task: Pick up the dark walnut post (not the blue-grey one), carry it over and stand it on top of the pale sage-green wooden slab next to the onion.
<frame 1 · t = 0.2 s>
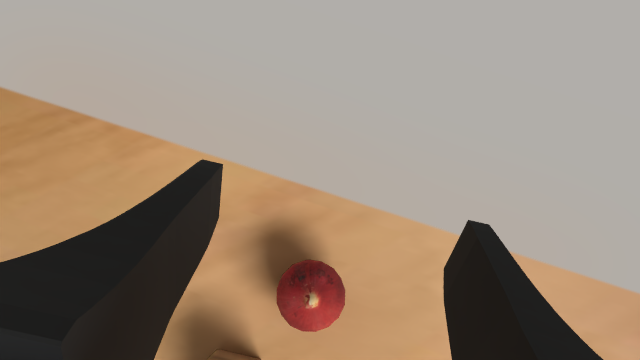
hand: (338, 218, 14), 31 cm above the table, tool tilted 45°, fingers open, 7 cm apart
onion: (310, 292, 43), on the table
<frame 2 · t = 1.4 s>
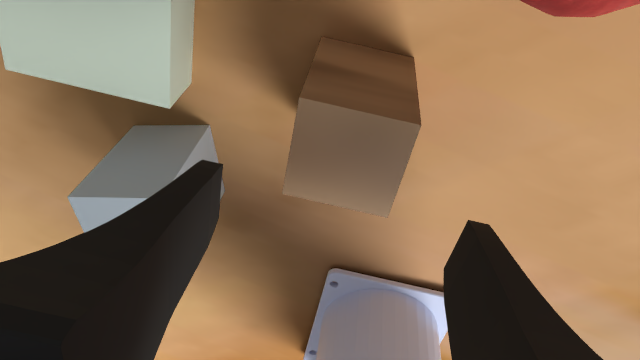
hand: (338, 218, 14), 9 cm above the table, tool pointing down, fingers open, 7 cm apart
walnut post: (357, 89, 21), on the table
bluegrey post: (181, 159, 24), on the table
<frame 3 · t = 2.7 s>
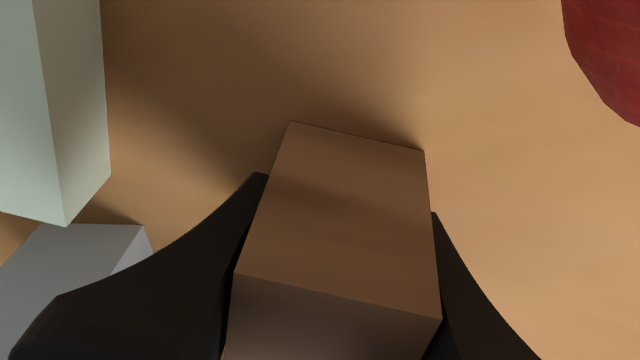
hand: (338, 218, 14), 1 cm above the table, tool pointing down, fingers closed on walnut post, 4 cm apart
walnut post: (342, 189, 15), on the table, touching gripper
bluegrey post: (110, 262, 18), on the table
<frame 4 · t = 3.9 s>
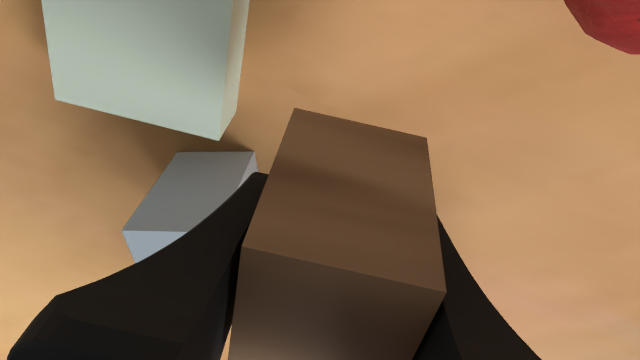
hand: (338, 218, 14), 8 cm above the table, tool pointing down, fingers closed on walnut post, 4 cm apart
sage slab: (166, 16, 20), on the table
walnut post: (346, 177, 15), point 7 cm above the table, touching gripper
bluegrey post: (223, 184, 24), on the table
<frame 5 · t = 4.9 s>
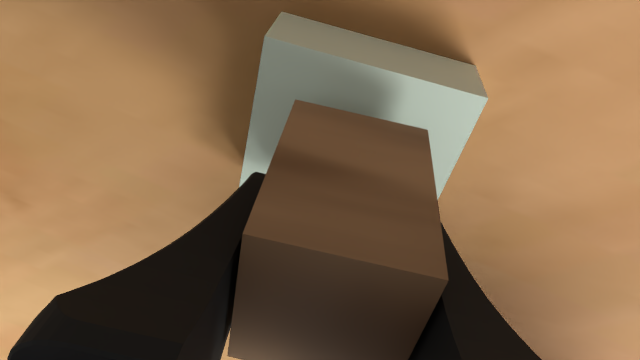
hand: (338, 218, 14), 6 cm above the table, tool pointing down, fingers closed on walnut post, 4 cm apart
sage slab: (352, 120, 19), on the table
walnut post: (346, 169, 15), point 4 cm above the table, touching gripper
when the fingers open (5 cm above the table, at t = 5.3 s): walnut post stays where it is, point 3 cm above the table.
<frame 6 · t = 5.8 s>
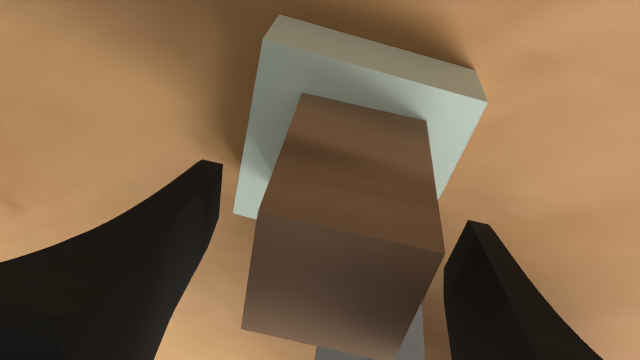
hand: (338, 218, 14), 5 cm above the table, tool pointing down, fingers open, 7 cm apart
sage slab: (351, 122, 18), on the table
walnut post: (350, 159, 16), point 3 cm above the table
bluegrey post: (374, 281, 23), on the table
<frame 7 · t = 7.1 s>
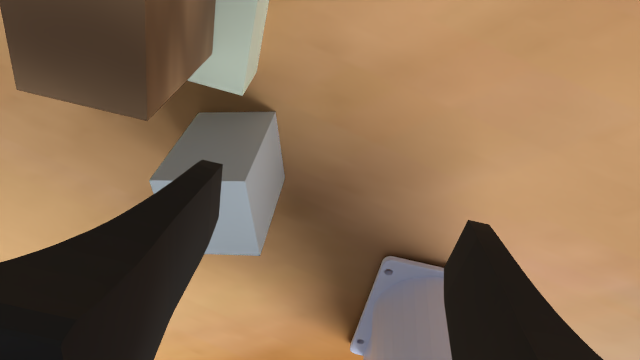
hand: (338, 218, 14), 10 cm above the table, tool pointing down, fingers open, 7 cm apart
bluegrey post: (243, 146, 25), on the table
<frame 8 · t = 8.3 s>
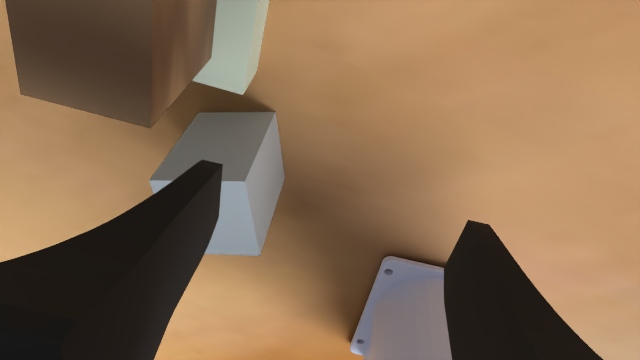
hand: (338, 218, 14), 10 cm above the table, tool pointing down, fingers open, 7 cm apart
bluegrey post: (243, 146, 25), on the table
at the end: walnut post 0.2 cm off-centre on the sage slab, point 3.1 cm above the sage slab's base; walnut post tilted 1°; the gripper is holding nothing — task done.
